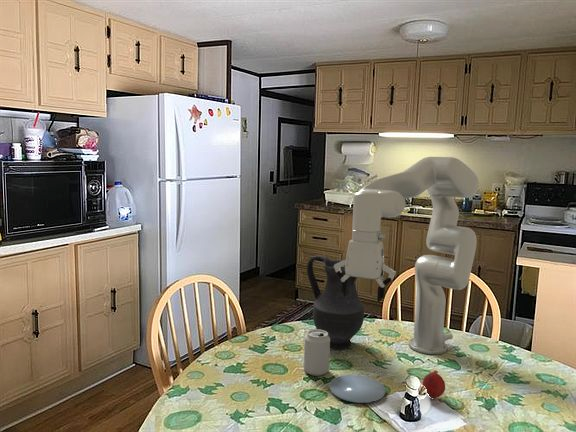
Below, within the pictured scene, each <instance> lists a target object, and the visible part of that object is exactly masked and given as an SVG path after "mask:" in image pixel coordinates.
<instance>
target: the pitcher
mask: <svg viewBox="0 0 576 432" xmlns="http://www.w3.org/2000/svg"><path fill="white" fill-rule="evenodd" d="M316 260H320V261H322V263H323V267H324V269H325V270H324V271H325V272H326V283H325V286H324V289H323V291H322V293H321V290H320V287H319V284H318V281H317V278H316V276H315V273H314V266H313V265H314V261H316ZM344 260H345V259H329V258H328V256H327V255H324V254H319V255H318V254H317V255H314V256H311V257H310V258H309V259H308V261H307V263H306V273H307V277H308V281H309V283H310V284H309V285H310V287H311V290H312V294H313V296H314V303H313V306H312V307H313V308H312V316H313V317H312V319H313V323H314V326H315V329H319V330H324V331H326V332H327V333H328V336H329V337H330V350H333V351H345V350H348V349H350V348H351V347H352V346H353V344H352V341H351V340H352V338H354V337H355V336H356V335H357V333H359V332H360V330H361V328H362V326H363V323H364V319H365V307H364V305H363V302H362V301H361V300H360V297H359V295H358V291H357V287H356V283H355V282H356V281H357V278H358V277H351V276H350V277H349V278H348V280H349V281H350V283H349V294H348V295H347V296H343V292H342V281H341V279H340V278H339V277H338V275H337V273H336V271H335V268H334V265H335V264H337V263H339V262H342V261H344ZM340 268H341V271H342V272H343V273H344V274H346V273H345V265H344V266H342V267H340Z"/></svg>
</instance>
